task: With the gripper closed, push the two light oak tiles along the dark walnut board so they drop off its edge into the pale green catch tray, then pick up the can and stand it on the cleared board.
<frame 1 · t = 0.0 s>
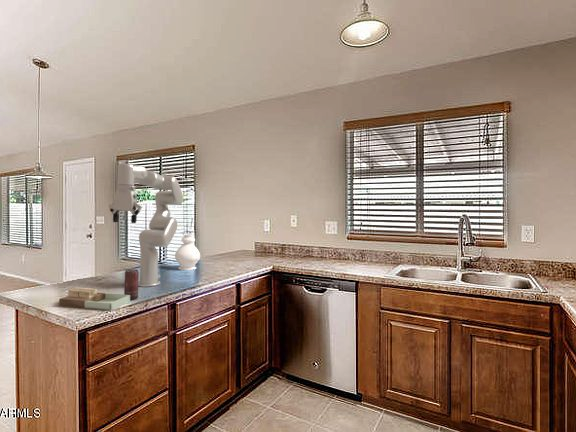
hand: (124, 222, 168), 37 cm above the counter, tool pointing down, fingers open, 9 cm apart
decorative vase: (187, 268, 245), on the counter
tile b: (88, 296, 154), point 3 cm above the counter, touching board
can: (131, 299, 163), on the counter
tile a: (77, 295, 155), point 3 cm above the counter, touching board
board: (83, 302, 155), on the counter
catch tray: (108, 304, 153), on the counter
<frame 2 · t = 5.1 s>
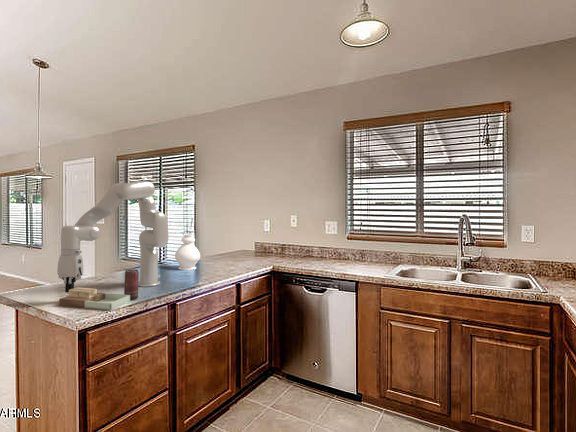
hand: (69, 291, 156), 4 cm above the counter, tool pointing down, fingers closed
tile a: (77, 295, 155), point 3 cm above the counter, touching gripper
everything else where it was.
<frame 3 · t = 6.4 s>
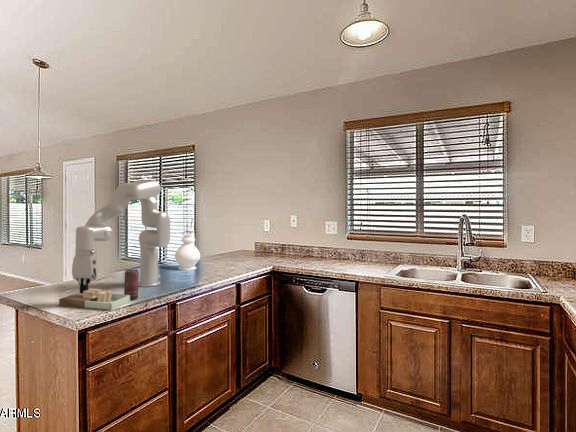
hand: (83, 292, 154), 5 cm above the counter, tool pointing down, fingers closed
tile b: (101, 296, 153), point 3 cm above the counter, tilted 97°, touching catch tray
tile a: (92, 296, 154), point 3 cm above the counter
everything else where it was.
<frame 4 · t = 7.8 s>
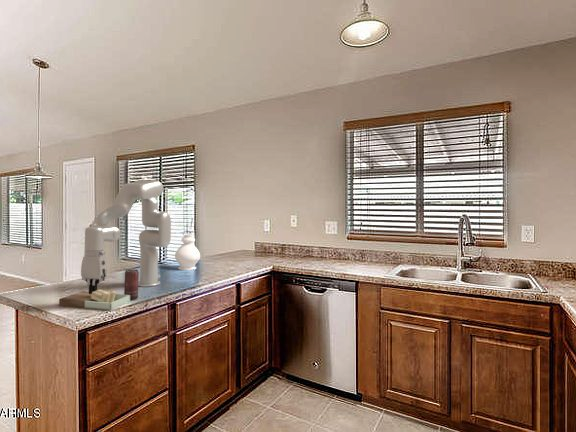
hand: (92, 293, 154), 5 cm above the counter, tool pointing down, fingers closed
tile b: (105, 296, 153), point 4 cm above the counter, tilted 103°, touching catch tray, tile a
tile a: (99, 298, 153), point 3 cm above the counter, tilted 13°, touching gripper, tile b
everything else where it was.
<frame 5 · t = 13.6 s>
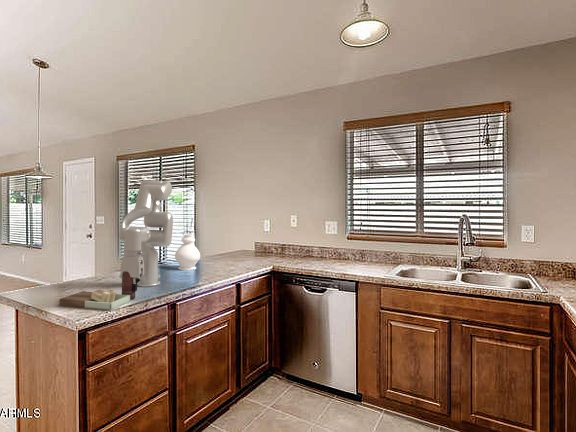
hand: (131, 291, 163), 4 cm above the counter, tool pointing down, fingers closed
can: (128, 299, 163), on the counter
tile a: (99, 298, 153), point 2 cm above the counter, tilted 15°, touching board, tile b
everything else where it was.
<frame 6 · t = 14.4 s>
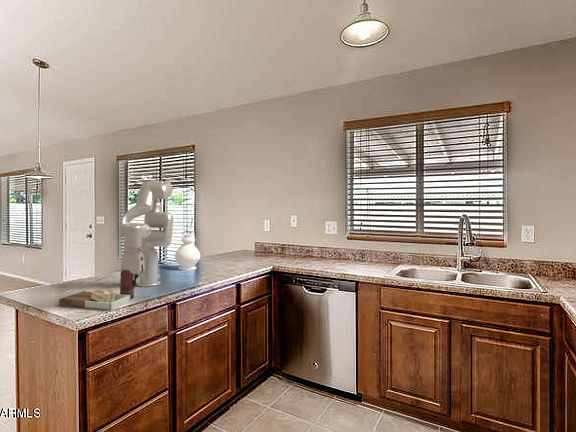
hand: (132, 287, 164), 6 cm above the counter, tool pointing down, fingers closed
can: (127, 298, 164), on the counter, touching gripper
everything else where it was.
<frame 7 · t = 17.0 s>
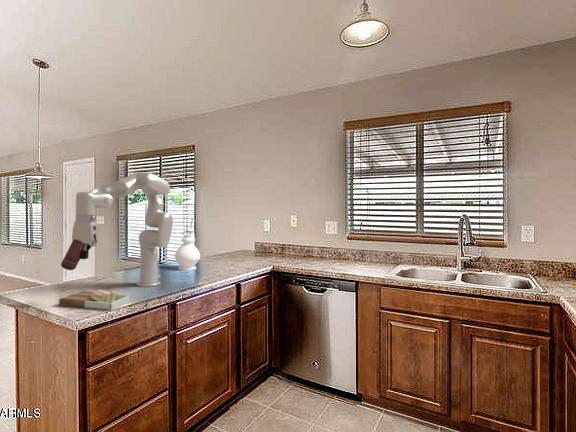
hand: (84, 258, 154), 20 cm above the counter, tool pointing down, fingers closed
can: (67, 267, 155), point 16 cm above the counter, touching gripper
everything else where it was.
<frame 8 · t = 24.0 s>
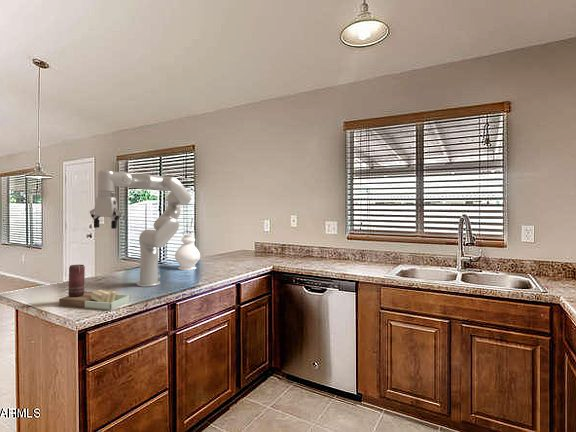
hand: (105, 228, 172), 33 cm above the counter, tool pointing down, fingers open, 9 cm apart
can: (76, 295, 154), point 3 cm above the counter, touching board
everything else where it was.
at the end: tile a inside the target area (4.5 cm from its centre), point 2.4 cm above the counter; tile b inside the target area (1.6 cm from its centre), point 3.6 cm above the counter; can inside the target area (3.0 cm from its centre), point 3.0 cm above the counter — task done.
